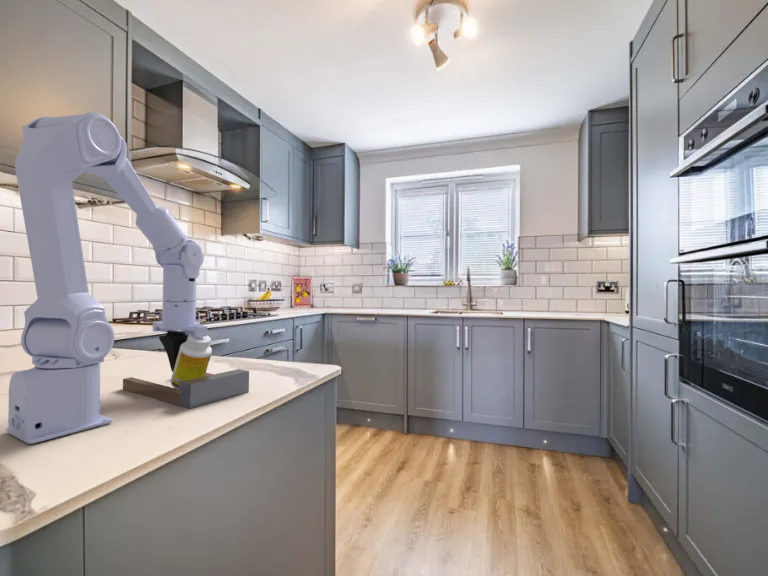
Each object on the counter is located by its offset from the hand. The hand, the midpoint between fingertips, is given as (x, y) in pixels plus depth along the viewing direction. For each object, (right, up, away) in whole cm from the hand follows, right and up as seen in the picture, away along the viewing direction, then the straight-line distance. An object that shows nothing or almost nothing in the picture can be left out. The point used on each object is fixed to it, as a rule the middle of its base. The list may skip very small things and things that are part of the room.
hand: (178, 371), depth 75 cm
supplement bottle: (+2, -3, -1) cm, 4 cm away
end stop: (+10, -4, -6) cm, 12 cm away
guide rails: (+1, -3, -1) cm, 4 cm away
